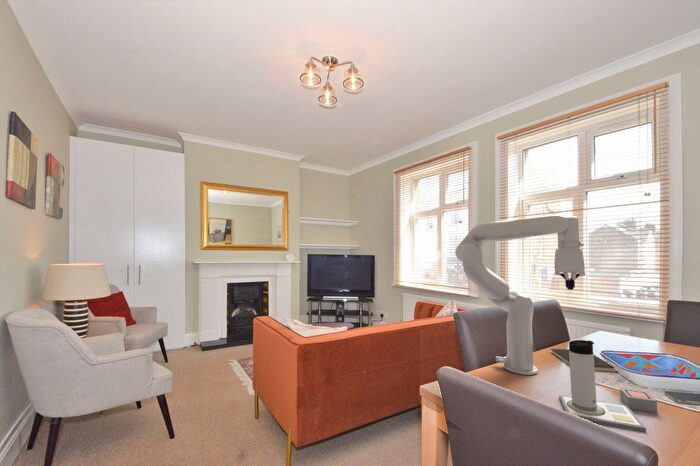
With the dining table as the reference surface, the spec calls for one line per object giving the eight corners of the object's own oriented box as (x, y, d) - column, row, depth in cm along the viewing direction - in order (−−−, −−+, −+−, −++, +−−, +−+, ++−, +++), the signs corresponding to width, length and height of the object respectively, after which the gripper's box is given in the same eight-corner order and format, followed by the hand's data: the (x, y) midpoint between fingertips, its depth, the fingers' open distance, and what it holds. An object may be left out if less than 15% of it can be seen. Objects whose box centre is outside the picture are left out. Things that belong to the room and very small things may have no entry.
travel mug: (602, 412, 96) (598, 344, 97) (577, 410, 98) (573, 343, 99) (592, 402, 102) (588, 338, 104) (568, 401, 104) (565, 337, 105)
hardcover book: (574, 370, 134) (574, 365, 134) (550, 353, 157) (550, 348, 157) (618, 373, 131) (617, 367, 131) (587, 355, 154) (587, 350, 154)
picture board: (568, 418, 96) (567, 413, 96) (559, 398, 109) (559, 394, 109) (646, 431, 88) (645, 427, 88) (626, 408, 101) (626, 404, 101)
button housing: (628, 408, 101) (627, 396, 102) (620, 398, 108) (619, 388, 108) (657, 412, 99) (656, 401, 99) (647, 402, 105) (646, 391, 105)
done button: (631, 402, 102) (631, 395, 102) (626, 396, 106) (626, 390, 106) (649, 405, 100) (649, 398, 100) (643, 399, 104) (643, 392, 104)
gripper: (587, 245, 137) (589, 289, 136) (546, 245, 143) (548, 287, 142) (592, 245, 130) (594, 291, 129) (549, 245, 136) (550, 289, 135)
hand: (570, 289), depth 135 cm, fingers closed
